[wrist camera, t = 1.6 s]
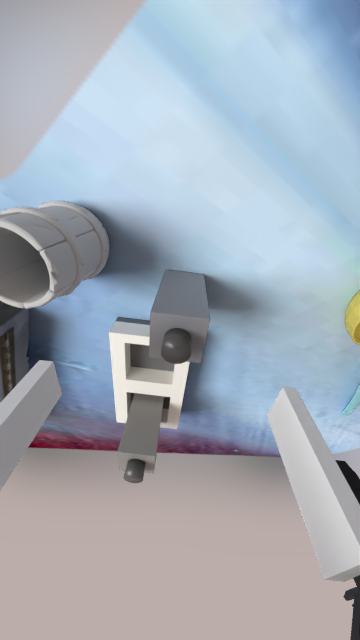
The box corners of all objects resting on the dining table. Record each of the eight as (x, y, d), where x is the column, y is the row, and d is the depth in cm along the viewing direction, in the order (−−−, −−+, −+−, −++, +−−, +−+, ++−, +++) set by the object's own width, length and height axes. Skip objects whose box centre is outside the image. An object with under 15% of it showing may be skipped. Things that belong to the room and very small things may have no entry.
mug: (117, 276, 24) (63, 335, 14) (19, 271, 25) (-103, 326, 14) (107, 201, 20) (22, 209, 10) (-9, 197, 21) (-206, 200, 10)
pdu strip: (193, 326, 27) (193, 346, 24) (178, 409, 37) (177, 433, 33) (118, 317, 27) (106, 336, 24) (122, 403, 37) (115, 426, 33)
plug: (203, 274, 24) (211, 331, 14) (197, 307, 26) (201, 377, 16) (165, 269, 24) (146, 323, 14) (163, 303, 26) (145, 371, 16)
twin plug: (165, 387, 32) (153, 471, 23) (163, 404, 35) (151, 488, 25) (137, 383, 32) (112, 467, 22) (137, 401, 35) (115, 484, 25)
